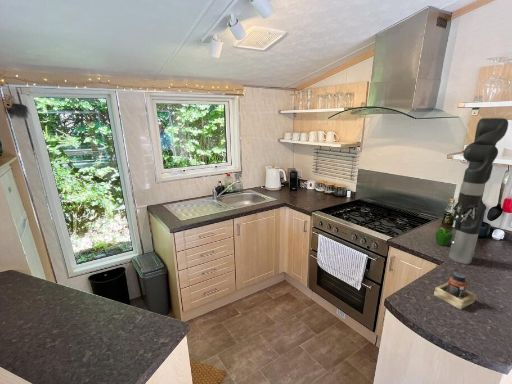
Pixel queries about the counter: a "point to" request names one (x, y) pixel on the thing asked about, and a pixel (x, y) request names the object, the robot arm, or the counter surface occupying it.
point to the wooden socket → (453, 300)
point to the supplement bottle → (457, 285)
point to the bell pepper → (443, 237)
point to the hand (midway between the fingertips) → (462, 227)
